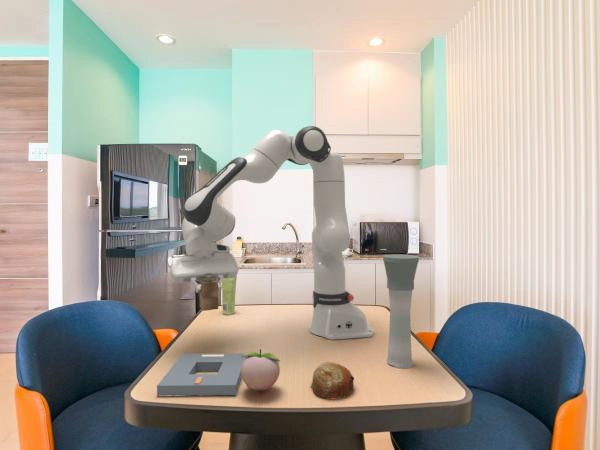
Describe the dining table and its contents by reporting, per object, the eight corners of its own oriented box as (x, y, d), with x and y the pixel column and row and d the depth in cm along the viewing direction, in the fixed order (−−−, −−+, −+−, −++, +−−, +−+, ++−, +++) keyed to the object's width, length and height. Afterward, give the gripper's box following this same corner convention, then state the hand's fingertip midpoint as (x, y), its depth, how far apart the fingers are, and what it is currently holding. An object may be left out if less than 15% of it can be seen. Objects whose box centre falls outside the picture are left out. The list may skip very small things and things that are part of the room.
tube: (232, 310, 149) (232, 265, 148) (238, 313, 145) (237, 267, 145) (220, 313, 146) (220, 267, 145) (226, 316, 142) (225, 268, 141)
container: (411, 355, 102) (412, 254, 101) (422, 370, 92) (423, 258, 91) (378, 355, 102) (379, 254, 101) (386, 370, 92) (387, 258, 91)
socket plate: (246, 362, 97) (246, 352, 97) (235, 395, 79) (235, 383, 79) (182, 362, 97) (182, 352, 97) (157, 396, 79) (156, 384, 79)
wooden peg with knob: (214, 305, 106) (214, 271, 105) (218, 308, 102) (218, 273, 102) (199, 307, 104) (199, 272, 103) (203, 310, 100) (202, 275, 99)
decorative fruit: (237, 401, 77) (237, 357, 77) (243, 383, 85) (243, 343, 85) (279, 401, 77) (279, 357, 77) (281, 383, 85) (281, 343, 85)
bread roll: (316, 393, 88) (302, 365, 87) (352, 374, 88) (338, 347, 88) (322, 416, 78) (307, 385, 77) (362, 395, 78) (348, 364, 78)
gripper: (167, 249, 103) (173, 288, 95) (233, 246, 113) (244, 280, 105) (165, 262, 107) (171, 300, 99) (229, 258, 117) (239, 292, 109)
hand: (209, 290), depth 102 cm, fingers closed on wooden peg with knob, 4 cm apart
